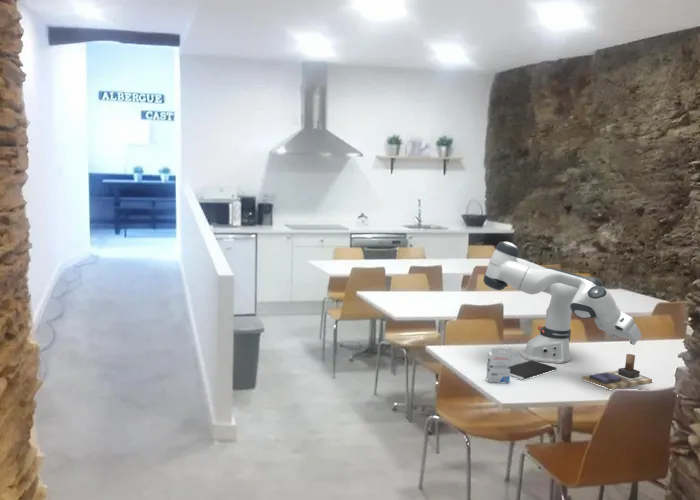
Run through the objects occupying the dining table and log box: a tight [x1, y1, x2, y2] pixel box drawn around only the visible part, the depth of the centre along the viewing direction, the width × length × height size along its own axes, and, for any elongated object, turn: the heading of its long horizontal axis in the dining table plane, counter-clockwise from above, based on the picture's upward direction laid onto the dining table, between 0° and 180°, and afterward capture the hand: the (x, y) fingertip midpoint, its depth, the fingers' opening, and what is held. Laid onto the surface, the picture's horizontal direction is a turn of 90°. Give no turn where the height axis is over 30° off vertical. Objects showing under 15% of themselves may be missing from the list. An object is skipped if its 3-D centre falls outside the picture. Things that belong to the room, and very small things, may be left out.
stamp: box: [617, 353, 641, 379], centre depth 295 cm, size 6×6×9 cm
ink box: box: [485, 347, 512, 383], centre depth 284 cm, size 8×5×15 cm, turn 96°
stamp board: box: [581, 369, 653, 390], centre depth 293 cm, size 26×14×3 cm, turn 119°
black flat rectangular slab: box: [510, 360, 557, 381], centre depth 301 cm, size 13×27×2 cm, turn 133°
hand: (624, 340), depth 290 cm, fingers open, 8 cm apart
